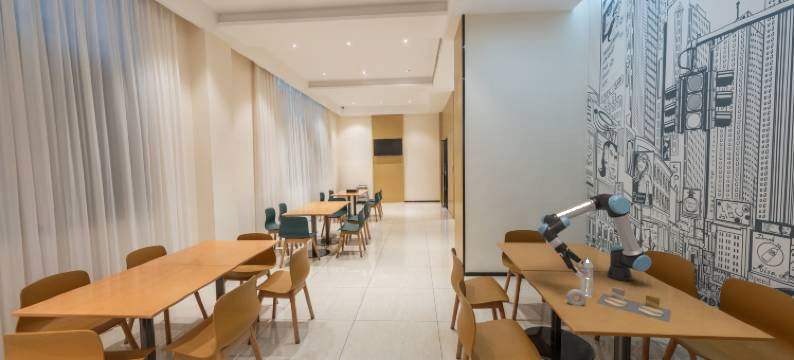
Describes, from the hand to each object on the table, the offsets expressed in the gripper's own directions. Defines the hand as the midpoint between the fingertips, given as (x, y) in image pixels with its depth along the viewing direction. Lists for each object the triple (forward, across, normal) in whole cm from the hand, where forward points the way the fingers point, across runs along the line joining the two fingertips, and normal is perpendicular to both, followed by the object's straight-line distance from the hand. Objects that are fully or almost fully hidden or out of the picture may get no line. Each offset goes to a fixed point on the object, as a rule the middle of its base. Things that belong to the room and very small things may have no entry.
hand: (584, 274), depth 192 cm
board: (+27, -2, +7) cm, 28 cm away
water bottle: (+11, 0, -9) cm, 15 cm away
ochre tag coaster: (+32, -2, +14) cm, 35 cm away
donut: (+10, +18, -10) cm, 23 cm away
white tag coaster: (+21, -2, +2) cm, 21 cm away
